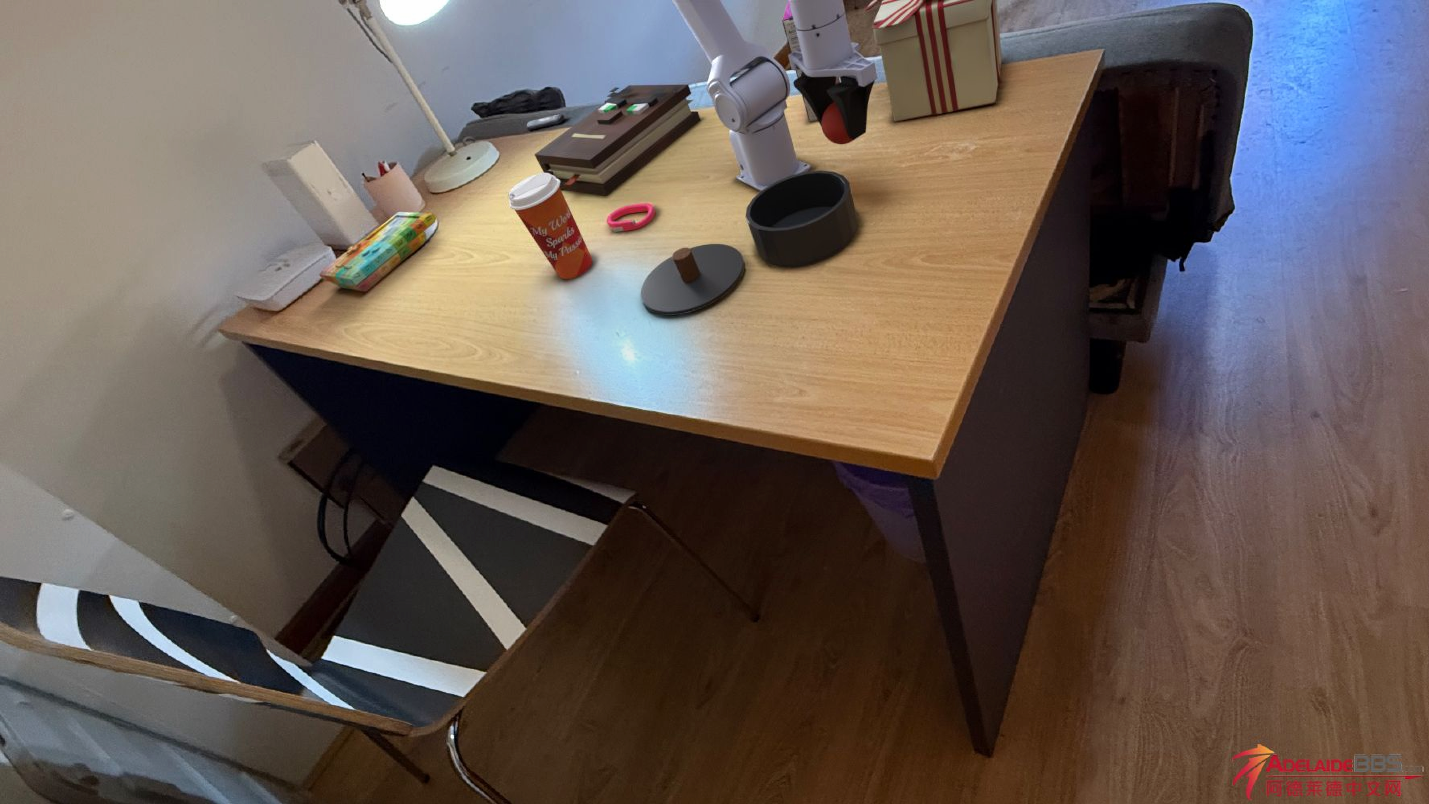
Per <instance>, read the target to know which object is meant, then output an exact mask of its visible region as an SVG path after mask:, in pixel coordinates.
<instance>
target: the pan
mask: <svg viewBox="0 0 1429 804" xmlns="http://www.w3.org/2000/svg"><path fill="white" fill-rule="evenodd" d="M853 196H854V195H853V192H852V188H851V184H850V181H849V180H848V179H847V178H846V177H845V175H843V174H840V173H838V172H836V171H834V170H833V171H832V170H823V169H822V170H811V171H810V170H808V171H806V172H803V173H799V174H795V175H792V176H789V177H786V178H784V179H781V180H779V181H777V182H775V183H773V184H771V185H770V186H768V187H766V188H765V189H763V190H762V191H759V193H757V194H756V195H755V196H754V197H753V198H752V199H751V200H750V202H749V204H748V205H747V207H746V210H745V211H746V212H745V219H746V223H747V225H748V228H749V231H750V234H751V237H752V240H753V243H754V245H755V249H756V251H757V253H758V255H759V257H760V259H761V260H762V261H763V262H764V263H766V264H767V265H771V266H773V267H777V268H784V269H786V268H789V269H790V268H791V269H792V268H793V269H794V268H802V267H806V266H810V265H814V264H817V263H820V262H822V261H825V260H827V259H830V258H831V257H833V256H835V255H836V254H838V253H839V252H841V251H842V250H844V249H845V248H846V247H848V245H850V243H851V242H852V241H853V240H854V238H855V237H856V234H858V230H859V220H858V214H857V210H856V206H855V201H854V197H853Z"/></svg>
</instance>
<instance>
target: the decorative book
mask: <svg viewBox="0 0 1429 804" xmlns="http://www.w3.org/2000/svg"><path fill="white" fill-rule="evenodd" d="M619 89H620V87H613V88H612V89H611V90H609V91H608V93H610V94H608V95H607V96H606V97H608V98H607V99H606V100H604V103H603V104H602V105H600V106H599V107H597V108H596V109H594V110H593V111H592V112H590V113H589V114H587V115H586V116H584V118H582V119H580V120H579V121H578V122H577V123H575V124H574V125H573V126H571V127H570V128H569V129H567V130H565V131H564V132H563V133H562V134H560V135H559V136H558V137H556V138H554V139H553V140H551V142H549V143H548V144H547V145H545V146H544V147H542V148H541V149H539V150H538V151H537V152H535V153H534V154H533V155H534V157H535V159H536V161H537V162H538V165H539V166H540V168H541V170H542V173H549V174H551V175H554V176H555V177H556V178H557V179H559V180H560V186H559V187H560V189H561V190H566V191H573V192H580V193H586V194H593V195H600V196H605V197H606V196H609V195H610V194H612V192H614V191H615V190H616V189H618V188H619V187H620V186H621V185H623V183H625V182H626V181H627V180H628V179H630V178H631V177H633V175H634V174H636V173H637V172H638V171H640V170H641V169H642V168H643V167H645V166H646V165H647V164H648V163H649V162H651V161H652V160H653V159H654V158H656V157H657V156H658V155H660V154H661V153H662V152H663V151H664V150H666V149H667V148H668V147H669V146H671V145H672V144H673V143H674V142H676V141H677V140H678V139H679V138H681V137H682V136H683V135H684V134H686V133H687V132H688V131H689V130H690V129H692V128H693V127H694V126H695V125H697V124H698V123H699V122H700V121H702V119H701V116H700V113H699V111H698V110H691V108H690V104H691V102H692V103H693V101H694V99H687V98H688V97H689V96H690V95H692V91H691V88H690V86H689V84H633V85H632V84H631V85H627V86H626V87H624V88H623V89H622V90H620V91H618V90H619ZM616 91H618V92H616Z"/></svg>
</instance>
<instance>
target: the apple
mask: <svg viewBox="0 0 1429 804" xmlns="http://www.w3.org/2000/svg"><path fill="white" fill-rule="evenodd" d="M821 130H822V133H823V135H824V136H825V137H826V139H827V140H828V141H830V142H831V143H833V144H835V145H847V144H849V143H852V142H853V141H854V140H852V139H850V138H849V136H848V134H847V131H846V128H845V125H844V122H843V119H842V116H841V114H840V111H839V109H838V107H837V105H836V104H835V102H834V103H832V104H831V105H830V106H828V108H827V109H826V110H825V112H824V114H823V117H822V127H821Z"/></svg>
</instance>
